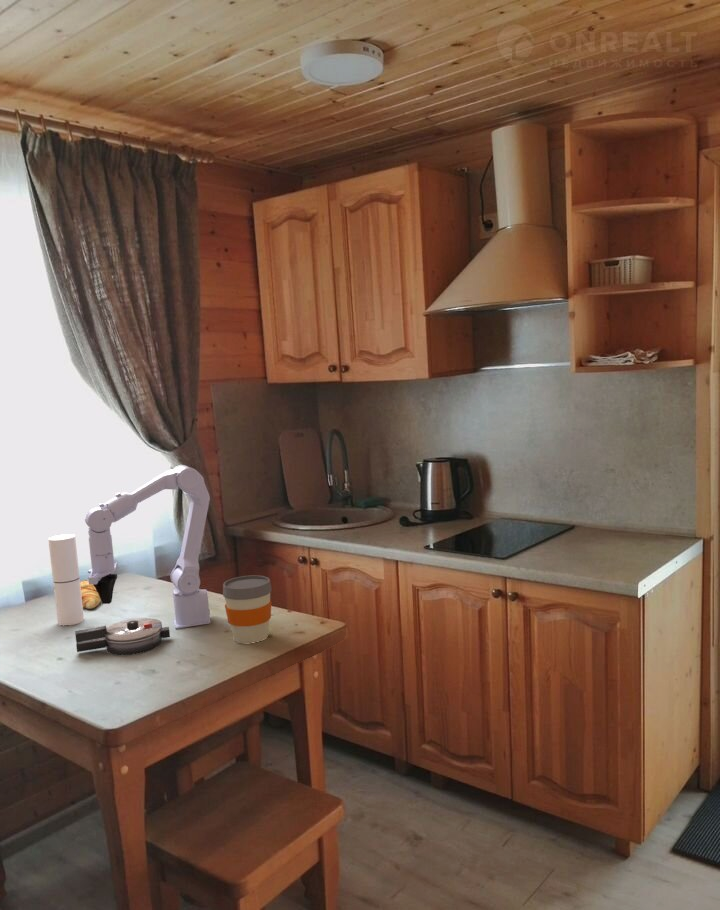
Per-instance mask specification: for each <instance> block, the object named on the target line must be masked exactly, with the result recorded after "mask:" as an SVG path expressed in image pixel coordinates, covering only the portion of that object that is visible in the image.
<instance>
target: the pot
mask: <svg viewBox="0 0 720 910" xmlns="http://www.w3.org/2000/svg"><path fill="white" fill-rule="evenodd" d="M170 632H171V631H170V627H169V626H165V627H162V629H161V631H159V632H158V633H156V634H155V635H152V636H150V637H147V638H143V639H139V640H134V641H125V642H116V641H110V640H107V639H105V638H98V639H93V640H87V641H82V642H76V641H75V642H76V644H75V646H76V652H77V653H80V652H86V651H93V650H99V649H105V650H106V652H107V653H109V654H111V655H115V656H133V655H138V654H143V653H147V652H149V651H152V650H154V649H156V648H158V647H159V646H160V645H162V644H163V639H167V638H171V635H170Z"/></svg>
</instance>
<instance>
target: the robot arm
mask: <svg viewBox="0 0 720 910" xmlns="http://www.w3.org/2000/svg"><path fill="white" fill-rule="evenodd" d="M178 489H180V490H182V492H183V493H184V494H185V496H187V498H188V499H189V501H190V503H189V507H188V512H187V517H186V523H185V528H184V532H183V539H182V544H181V549H180V553H179V554H180V555H179V557H178V558H177V560H176V563H175V566H174V568H173V569H172V571H171V573H170V576H169V577H170V582H171V583H172V584H173V585H174V589H173V590H172V594H173V595H172V598H173V606H174V607H173V608H174V616H175V617H174V618H173V624H174V627H175V629H176V630H177V629H183V628H184V629H185V628H189V627H197V626H202V625H209V624H211V617H210V615H211V613H210V612H211V611H210V605H209V596H208V590H207V589H205V588H204V589H200V585H201V579H200V575H199V574H200V563H199V557H200V552H201V546H202V542H203V537H204V531H205V527H206V521H207V516H208V510H209V506H210V501H211V499H210V498H211V496H210V493H209V491H208V488H207V485H206V483H205V479H204V477H203V475H202V474H201V473H200V472H199V471H198V470H196V469H195V468H193V467H189V466H187V465H185V464H179V465H176V466H175V467H173V469H172V468H171V469H168V470H166V471H165V472H163V473H160V474H159V475H158V476H156V477H154V478H152V480H150V481H148V482H147V483H145V484H144V485H142V486H141V487H139V488H137V489H136V490H134V491H133V492H127V491H124V492H122V493H121V492H117V493H115V495H114V496H115V497H113V498H112V499H109V500H108V501H106V502H104V503H103V502H101V503H99V504H98V505H99V507H93V508H91V509H90V510H89V511H88V512H87V513H86V515H85V519H84V522H85V524H86V525H87V527H88V544H89V546H88V547H89V554H90V562H91V563H90V564H91V569H88V570H87V574H90V575H89V577H88V581H89V585H91V584H93V585H94V587H95V588H96V590H97V592H98V594H99V597H100V599H101V602H100V603H101V604H102V605H109V604H111V603H112V601H113V594H114V590H115V589H114V587H115V585H116V582H117V579H118V574H116V573H115V572H116V571H117V570H118V569H119V565H118V564H119V563H118V561H117V562H115V560H114V558H115V557H114V549H113V537H112V534H111V526H112V524H113V523H117V522H118V521H120V520H122V519H123V518H125V517H126V516H128V515H130V514H131V513H133V512H135V511H136V510H137V507H138V504H139V503H141V502H143V501H146V500H147V499H149V498H151V497H153V496H154V495H156V494H159V493H160V492H162V491H164V490H178Z"/></svg>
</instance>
